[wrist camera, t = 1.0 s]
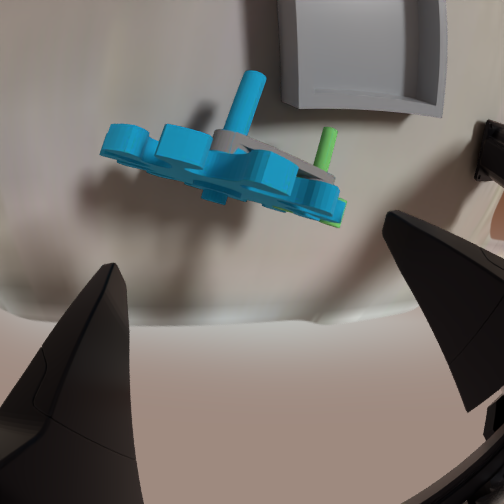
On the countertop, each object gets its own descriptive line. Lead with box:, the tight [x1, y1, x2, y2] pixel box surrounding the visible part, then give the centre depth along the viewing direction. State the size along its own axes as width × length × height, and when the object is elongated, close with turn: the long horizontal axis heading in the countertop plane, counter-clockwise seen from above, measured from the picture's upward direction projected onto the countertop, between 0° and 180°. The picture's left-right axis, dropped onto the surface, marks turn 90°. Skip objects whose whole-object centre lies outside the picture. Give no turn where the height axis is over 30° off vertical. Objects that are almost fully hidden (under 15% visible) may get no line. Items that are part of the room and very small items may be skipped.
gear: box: [100, 70, 347, 228], centre depth 11 cm, size 11×6×10 cm, turn 64°
